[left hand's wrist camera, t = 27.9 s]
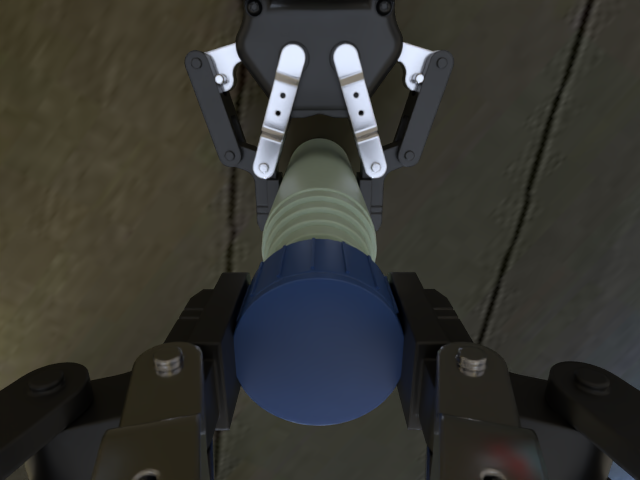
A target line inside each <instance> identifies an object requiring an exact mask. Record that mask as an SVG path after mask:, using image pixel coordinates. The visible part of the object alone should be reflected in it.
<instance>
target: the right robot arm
mask: <svg viewBox="0 0 640 480" xmlns="http://www.w3.org/2000/svg"><path fill="white" fill-rule="evenodd" d="M243 3H244V15H243V21H242V24H241V27H240V29H239V31H238V34H237V36H236V43H233V44H230V45H227V46H224V47H221V48H218V49H215V50H211V51H208V52H201V51H197V50H194V51H191V52H189V53H188V54H187V55H186V57H185V67H186V70H187V72H188V75H189V78H190V81H191V83H192V86H193V89H194V91H195V94H196V97H197V99H198V102H199V105H200V108H201V110H202V113H203V116H204V118H205V121H206V124H207V127H208V129H209V132H210V135H211V137H212V140H213V143H214V146H215V148H216V151H217V154H218V156H219V159H220V161H221V162H222V163H223V164H224V165H225V166H228V167H237V168H240V169H243V170H246V171H248V172H249V173H250V174H251V175H252V176H253V178H254V180H255V190H256V206H257V207H256V208H257V223H258V225H259V227H260V229H261V231H264V226H265V223H266V221H267V218H268V216H269V213H270V211H271V208H272V205H273V203H274V200H275V198H276V195H277V192H278V190H279V187H280V185H281V182H282V172H279V170H278V163H279V160H280V157H281V153H282V149H283V146H284V142H285V139H286V136H287V133H288V130H289V126H290V123H291V119H292V118H306V117H309V116H313V115H316V114H323V115H327V116H330V117H334V118H348V121H349V125H350V128H351V131H352V134H353V137H354V141H355V144H356V147H357V151H358V154H359V158H360V172H357V173H356V180H357V183H358V185H359V188H360V191H361V193H362V196H363V199H364V201H365V204H366V207H367V209H368V212H369V214H370V217H371V220H372V222H373V225H374V229H375V231H378V230H379V228H380V225H381V223H382V205H383V186H384V179H385V177H386V175H387V174H388V173H389V172H391V171H392V170H395V169H398V168H400V167H403V166H406V167H411V166H414V165H415V164H417V163H418V161H419V160H420V157H421V154H422V152H423V149H424V146H425V143H426V140H427V138H428V135H429V132H430V129H431V127H432V124H433V121H434V118H435V115H436V113H437V110H438V107H439V104H440V102H441V99H442V96H443V93H444V90H445V88H446V85H447V82H448V79H449V77H450V74H451V71H452V68H453V65H454V58H453V56H452V54H451V53H450V52H448V51H446V50H438V51H430V50H427V49H424V48H421V47H418V46H414V45H411V44H408V43H405V42H403V37H402V34H401V32H400V30H399V27H398V25H397V22H396V18H395V0H243ZM396 62H397V63H399V64H400V66H401V67H402V70H403V76H402V83H403V85H404V87H405V88H406V89H408V90H410V93H409V96H408V99H407V102H406V105H405V108H404V111H403V114H402V117H401V120H400V123H399V126H398V129H397V132H396V135H395V138H394V141H393V143H390V144H387V145H385V146H381V142H380V138H379V134H378V128H377V124H376V120H375V116H374V113H373V109H372V105H371V102H370V98H371V97H372V95H373V94H374V92H375V91H376V90H377V88H378V87H379V85H380V84H381V83H382V81H383V80H384V79H385V77H386V76H387V74H388V73H389V72H390V70H391V69H392V67H393V66H394V65H395V63H396ZM241 63H243V64H244V66H245V67H246V68H247V70H248V71H249V72H250V74H251V75H252V76H253V78H254V79H255V81H256V82H257V83H258V85H259V86H260V87H261V89H262V90H263V91H264V93H265V94H266V96H267V97H268V98H269V102H268V106H267V110H266V114H265V117H264V121H263V125H262V129H261V136H260V140H259V144H258V147H256V146H253V145H251V144H248V143H246V140H245V137H244V134H243V131H242V128H241V125H240V123H239V120H238V117H237V114H236V111H235V108H234V105H233V102H232V99H231V96H230V93H229V91H231V90H232V89H234V88H235V86H236V83H237V77H236V70H237V68H238V66H239V65H240V64H241Z"/></svg>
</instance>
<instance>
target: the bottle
mask: <svg viewBox="0 0 640 480" xmlns="http://www.w3.org/2000/svg"><path fill="white" fill-rule="evenodd" d="M312 238H315V239H330V240H335V241H339V242H342V241H344V242H345V243H346V244H348V245H351V246H353V247H355V248H357V249H358V250H360V251H362V252H363V253H365V254H366V255H367V256H368V255H370V256H371V259H372V260H373V261H374V263H375V259H376V250H377V247H376V234H375V229H374V225H373V222H372V220H371V217H370V214H369V212H368V209H367V207H366V204H365V201H364V199H363V196H362V193H361V191H360V188H359V185H358V183H357V180H356V178H355V175H354V172H353V170H352V167H351V164H350V162H349V159H348V156H347V155H346V153H345V151H344V150H343V149H342V148H341V147H340V146H339V145H338V144H336V143H335V142H333V141H331V140H328V139H322V138H317V139H311V140H308V141H306V142H304V143H302V144H301V145H300V146H299V147H298V148H297V149H296V150H295V151H294V153H293V155H292V157H291V159H290V162H289V164H288V167H287V169H286V172H285V174H284V177H283V180H282V182H281V185H280V187H279V190H278V192H277V195H276V198H275V200H274V203H273V205H272V208H271V211H270V213H269V216H268V218H267V221H266V223H265V226H264V231H263V238H262V257H263V262H264V261H265V260H266V259H267V258H268V257H270V256H271V255H272V254H273V253H275V252H276V251H278V250H279V249H281V248H283V246H284V245H286V246H287V245H289V244H292V243H295V242H298V241H303V240H308V239H312Z"/></svg>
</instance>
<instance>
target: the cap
mask: <svg viewBox="0 0 640 480" xmlns="http://www.w3.org/2000/svg"><path fill="white" fill-rule="evenodd" d="M398 313H399V310H398V308H397V305H396V302H395V299H394V296H393V293H392V290H391V287H390V284H389V281H388V279H387V276H385V277H384V275H383V273H382V272H381V270H380V269H379V267H378V266H377V265H376V264H375V263H374V261H373V260H372V259H371V256H370V255H368V256H367V255H366V254H365V253H363V252H362V251H360V250H358V249H357V248H355V247H353V246H351V245H348V244H346V243H345V242H344V241H342V242H339V241H335V240H330V239H315V238H312V239H308V240H303V241H298V242H295V243H292V244H289V245H287V246H286V245H284V246H283V248H281V249H279V250H278V251H276V252H275V253H273V254H272V255H271V256H270V257H268V258H267V259H266V260H265V261H264V262H261V263H260V266H259V269H258V270H257V272H256V273H255V275H254V277H253V279H252V281H251V284H250V285H249V286H248V289H247V292H246V295H245V298H244V301H243V303H242V306H241V309H240V312H239V315H238V318H237V325H236V328H235V331H234V334H233V340H234V352H235V364H236V376H237V379H238V381H239V383H240V385H241V386H242V387H243V389H244V390H245V392H246V393H247V394H248V395H249V396H250V398H251V399H252V400H253V401H254V402H256V403H257V404H258V405H259V406H260V407H262V408H263V409H265V410H266V411H268V412H269V413H271V414H273V415H275V416H277V417H279V418H282V419H285V420H287V421H291V422H295V423H299V424H305V425H332V424H339V423H343V422H347V421H350V420H353V419H356V418H358V417H361V416H363V415H364V414H366V413H368V412H370V411H371V410H373V409H374V408H376V407H377V406H379V405H380V404H381V403H382V402H383V401H384V400H385V399H386V398H387V397H388V396H389V395H390V394H391V393H392V391H393V390H394V388H395V387H396V385H397V384H398V382H399V380H400V378H401V370H402V358H403V346H404V333H403V330H402V326H401V323H400V321H399V317H398V315H397V314H398Z"/></svg>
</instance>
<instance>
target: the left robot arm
mask: <svg viewBox="0 0 640 480" xmlns="http://www.w3.org/2000/svg"><path fill="white" fill-rule="evenodd" d="M387 279H388V281H389V284H390V287H391V290H392V293H393V296H394V299H395V302H396V305H397V308H398V310H399V313H398V314H397V315H398V317H399V321H400V323H401V326H402V330H403V333H404V346H403V358H402V370H401V378H400V380H399V382H398V384H397V388H398V392H399V396H400V400H401V404H402V408H403V412H404V416H405V420H406V424H407V428H408V430H422V431H423V434H424V437H425V441H426V443H427V448H426V461H425V480H611V479H610V478H609V477H608V474H609V471H610V468H611V465H612V461H614V462H615V463H616V464H618V465H619V466H620V467H621V468H622V469H624V470H625V471H626V472H627V473H628V474H629V475H631V476H632V477H633V478H634V479H635V480H640V391H639V390H637V389H636V388H634V387H633V386H631V385H630V384H628V383H627V382H625V381H624V380H622V379H620V378H619V377H617V376H616V375H614V374H612V373H611V372H609V371H607V370H605V369H602V368H600V367H597V366H594V365H591V364H587V363H582V362H574V361H567V362H560V363H557V364H555V365H554V366H553V367H552V368H551V370H550V373H549V378H548V380H543V379H538V378H533V377H528V376H523V375H518V374H514V373H511V372H508V368H507V365H506V362H505V361H504V359H503V358H502V357H501V356H500V355H499V354H498V353H496V352H495V351H493V350H491V349H489V348H487V347H485V346H482V345H479V344H476V343H473V341H472V340H471V338H470V336H469V334H468V333H467V331H466V329H465V328H464V326H463V324H462V323H461V321H460V319H458V316H457V314H456V312H455V311H454V310H453V307H452V306H451V304H450V302H449V300H448V299H447V298H446V297H445V296H444V295H442V294H441V293H439V292H438V291H436V290H435V289H423V287H422V285H421V283H420V281H419V279H418V277H417V275H416V273H415V272H389V274H388V278H387ZM250 284H251V279H250V274H249V273H222V274H221V276H220V278H219V280H218V282H217V284H216V286H215V288H214V289H203V290H202V291H200V292H199V293H197V294H196V295H194V296H193V297H192V298H190V300H189V302H188V303H187V305H186V307H185V308H184V311H183V312H182V313H181V315H180V317H179V319H178V320H177V322H176V323H175V325H174V327H173V328H172V330H171V332H170V333H169V335H168V337H167V338H166V340H165V342H164V343H163V344H161V345H158V346H155V347H153V348H151V349H149V350H147V351H145V352H144V353H142V354H141V355H140V356H139V357H138V358H137V359H136V361H135V362H134V365H133V368H132V371H130V372H127V373H124V374H120V375H116V376H111V377H106V378H101V379H96V380H91V381H90V377H89V373H88V370H87V369H86V367H84V366H83V365H81V364H78V363H70V362H66V363H57V364H52V365H48V366H45V367H41V368H39V369H36V370H34V371H32V372H30V373H28V374H26V375H24V376H23V377H21V378H20V379H18V380H16V381H15V382H13V383H12V384H10V385H9V386H7V387H6V388H4V389H3V390H1V391H0V480H5V479H6V478H7V477H8V476H9V475H11V474H12V473H13V472H14V471H15V470H16V469H18V468H19V467H20V466H21V465H22V464H24V465H25V469H26V472H27V475H28V478H29V480H215V461H214V448H213V439H212V438H213V434H214V431H215V430H229V429H230V425H231V421H232V417H233V413H234V410H235V406H236V402H237V398H238V394H239V390H240V387H241V385H240V383H239V381H238V379H237V376H236V364H235V352H234V340H233V334H234V331H235V328H236V325H237V318H238V315H239V312H240V309H241V306H242V303H243V301H244V298H245V295H246V292H247V289H248V286H249V285H250Z"/></svg>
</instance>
